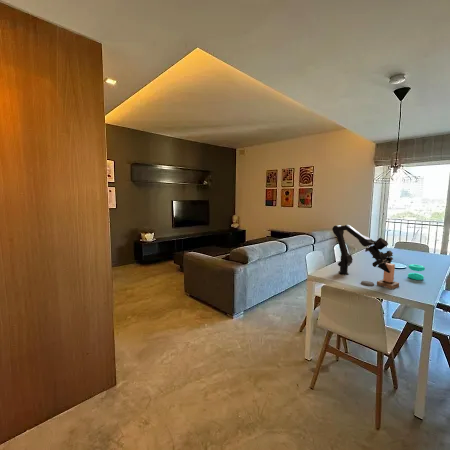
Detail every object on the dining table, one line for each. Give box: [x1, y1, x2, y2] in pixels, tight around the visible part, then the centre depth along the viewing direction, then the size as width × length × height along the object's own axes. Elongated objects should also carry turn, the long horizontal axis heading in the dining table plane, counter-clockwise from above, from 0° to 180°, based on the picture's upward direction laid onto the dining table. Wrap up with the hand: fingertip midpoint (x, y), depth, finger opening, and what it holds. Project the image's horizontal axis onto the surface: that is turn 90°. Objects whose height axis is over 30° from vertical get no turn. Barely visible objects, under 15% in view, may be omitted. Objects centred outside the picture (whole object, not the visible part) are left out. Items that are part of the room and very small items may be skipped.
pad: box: [360, 280, 375, 287], centre depth 184 cm, size 8×8×1 cm
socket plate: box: [376, 279, 400, 290], centre depth 181 cm, size 10×10×2 cm
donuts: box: [407, 263, 426, 281], centre depth 197 cm, size 10×10×10 cm
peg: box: [383, 262, 396, 282], centre depth 180 cm, size 5×5×12 cm
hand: (391, 272), depth 179 cm, fingers closed on peg, 5 cm apart
